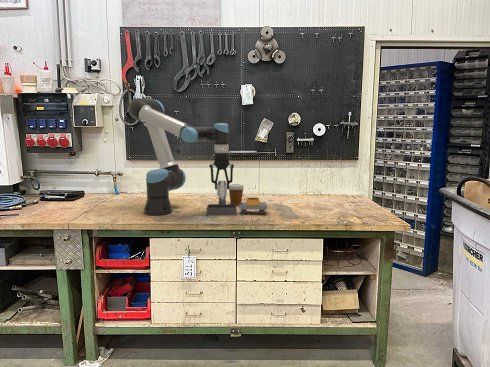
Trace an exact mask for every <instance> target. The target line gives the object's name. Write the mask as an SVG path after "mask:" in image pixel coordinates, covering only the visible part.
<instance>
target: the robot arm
mask: <svg viewBox="0 0 490 367" xmlns="http://www.w3.org/2000/svg"><path fill="white" fill-rule="evenodd" d="M127 111H128V114H129V116H131V117H132V118H133V119H135V120H137V121H139V122H141V123H143V125H144V126H145V127H147V129H148V130H147V131H148V133H149V137H150V140H151V142H152V145H153V150H154V151H155V155H156V159H157V161H158V165H159V168H157V169H151V170H149V171H147V172H146V176H145V177H146V178H145V181H146V182H145V183H146V202H145V206H144V209H143V211H144V212H143V213H144V215H147V216H165V215H170V214H172V213H173V206H172V204H171V200H170V196H169V195H170V194H169V192H170V191H174V190H178V189H180V188H182V187H183V186H184V185H185V183H186V180H187V177H186V173H185V171H184V170H183V169H182V168H180V166H179V164H178V163H177V162H176V161H175V159H174V156H173V154H172V153H173V152H172V150H171V148H170V144H169V141H168V138H167V134H166V132H167V133H170V134H173V135H175V136H177V137H179V138H180V139H182V141H183V142H185V143H197V142H213V143H214V144H213V145H214V148H213V149H214V162H213V163H210V164H209V168H210V180H211V183H212V184H214V190H215V191H216V196H217V197H218V196H219V193H218V181H219V176H220V171H222V170H223V171H224V175H225V176H224V178H225V181H226V197H227V196H228V190H229V185H230V184H231V183H233V178H234V177H233V176H234V174H233V173H234V170H233V169H234V167H235V164H234V163H231V162H230V160H229V159H230V158H229V157H230V156H229V146H230V145H229V124H228V123H226V122H225V123H224V122H220V123H214V124H213V126H192V125H190V124H188V123H186V122H184V121H183V122H182V121H180V120H179V119H177V118H174V117H171V116H170V115H166V114H165V107H164V105H163V104H162V103H161V101H159V100H157V99H154V98H141V97H139V98H138V97H137V98H134V99H132V100H131V101H130V102H129V104H128V110H127ZM165 131H166V132H165ZM214 167H215V168H216V173H215V174H216V175H215V180H214ZM227 168H230V176H228V170H227ZM229 178H230V179H229Z"/></svg>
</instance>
